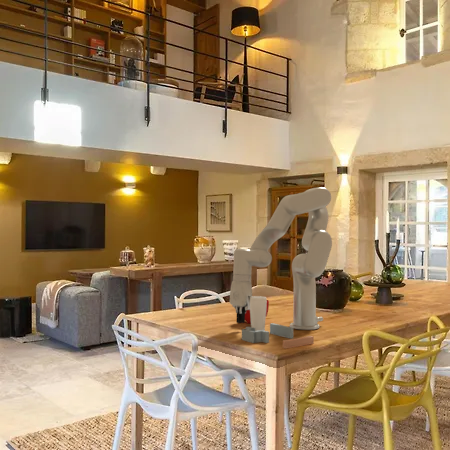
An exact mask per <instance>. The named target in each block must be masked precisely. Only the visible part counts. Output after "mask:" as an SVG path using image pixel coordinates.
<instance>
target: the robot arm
mask: <svg viewBox="0 0 450 450" xmlns="http://www.w3.org/2000/svg"><path fill="white" fill-rule="evenodd" d="M331 201H332V195H331V192H330V190H329V189H328V188H326V187H322V186H321V187H313V188H310V189H307V190H304V191H303V192H299V193H295V194H289V195H285V196H284V197H283V198H282V199H281V200H280V202H279V203H278V205H277V207H276V209H275V210H274V213H273V214H272V216H271V218H270V219H269V221H268V223H267V224H266V225H265V226H264V227H263V229H262V230H261V232H259V234H258V235H257V237H256V238H255V239H254V241H253V243H252V244H251V245H250V247H249V248H236V249H234V251H233V268H232V270H233V271H232V272H233V273H232V275H233V276H232V281H231V285H230V291H229V292H230V293H229V304H230V305H231V306H232V308H233V309H235V313H236V323H237V324H245V322H246V321H245V313H246V311H247V310H250V297H252V296H253V286H252V268H253V267H256V268H257V267H258V268H266V267H268V266H270V264H271V263H272V261H273V257H272V254H271V253H270V252H269V249H270V248H271V246H272V245H273V244H274V243H275V242H276V241H278V240H279V239H281V238H282V237H283V236H284V235H286V233H287V231H288V229H289V227H290V226H291V225H292V222H293V221H294V219H295V218H296V216H297V215H302V214H305V213H308V220H307V223H306V226H305V230H304V232H303V235H302V239H301V246H302V248H303V249H304V250H305V251H307V253H300V254H298V255H296V256H295V257H294V258H293V259H292V263H291V271H292V279H293V300H292V301H293V304H292V305H293V310H292V312H293V319H292V320H293V322H291V323H289V327H292V328H293V330H294V329H295V330H303V331H312V330H317V329H320V324H319V322H323V321H324V317H323V316H317V315H316V314H317V312H316V311H317V310H316V309H317V307H316V305H317V294H316V293H317V286H316V285H317V284H316V278H318V277H320V276H321V275H322V274H323V273H324V272H325V269H326V267H327V264H328V261H329V260H328V259H329V257H330V254H331V250H332V247H333V240H332V239H333V238H332V236H331V234H330V233H329V232H328V231H327V227H328V223H329V211H328V209H327V206H328V205H330V202H331Z"/></svg>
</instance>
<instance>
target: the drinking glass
mask: <svg viewBox="0 0 450 450" xmlns="http://www.w3.org/2000/svg"><path fill="white" fill-rule="evenodd" d="M266 300H267V297H266V296H263V295H262V296H261V295H252V297H250V318H251V324H250V327H252V328H255V331H258V330H264V331H266V328H265V327H266V318H267V316H266V307H267V301H266Z"/></svg>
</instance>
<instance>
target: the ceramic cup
mask: <svg viewBox="0 0 450 450" xmlns="http://www.w3.org/2000/svg"><path fill="white" fill-rule="evenodd" d="M266 301H267V307H266V317H267V316H268V312H269V306H270V301H269V299H266ZM245 322H246V324H247V325H248V324H249V325H251V318H250V310H247V311H246V313H245Z"/></svg>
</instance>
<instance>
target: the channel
mask: <svg viewBox="0 0 450 450" xmlns="http://www.w3.org/2000/svg"><path fill="white" fill-rule="evenodd" d="M270 335H274V336H277V337H278V336H279V337H283V338H286V339H285V340H282V348H283V349H291V348H296V347H297V348H298V347H301V346H307V345H313V344H314V340H315V339H314V336H312V335H309V336H303V337H297V338H294V328H292V327H290V326H286V325H283V324H278V323H273V322H272V323H269V331H268V330H265V331H264V330H258V331H255V328H252V327H251V326H246V327H245V328H243V329H242V328H241V340H242V341H245V342H248V343H251V344H255V343H256V344H257V343H265V344H267V343H270Z"/></svg>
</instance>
